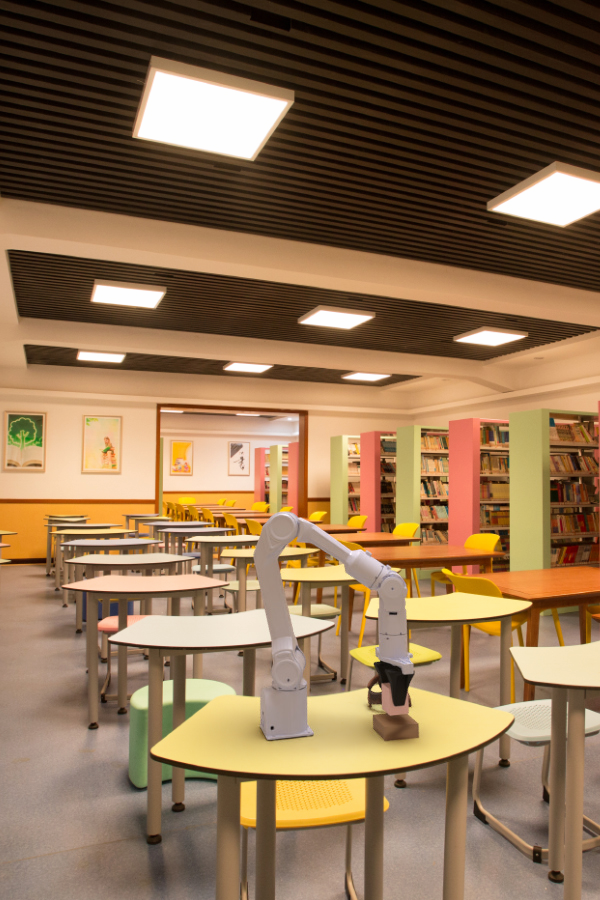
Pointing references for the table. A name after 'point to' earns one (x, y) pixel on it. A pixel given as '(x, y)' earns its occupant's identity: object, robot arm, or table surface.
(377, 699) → the brown curved piece
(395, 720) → the brown block
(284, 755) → the table surface
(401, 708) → the pink block
